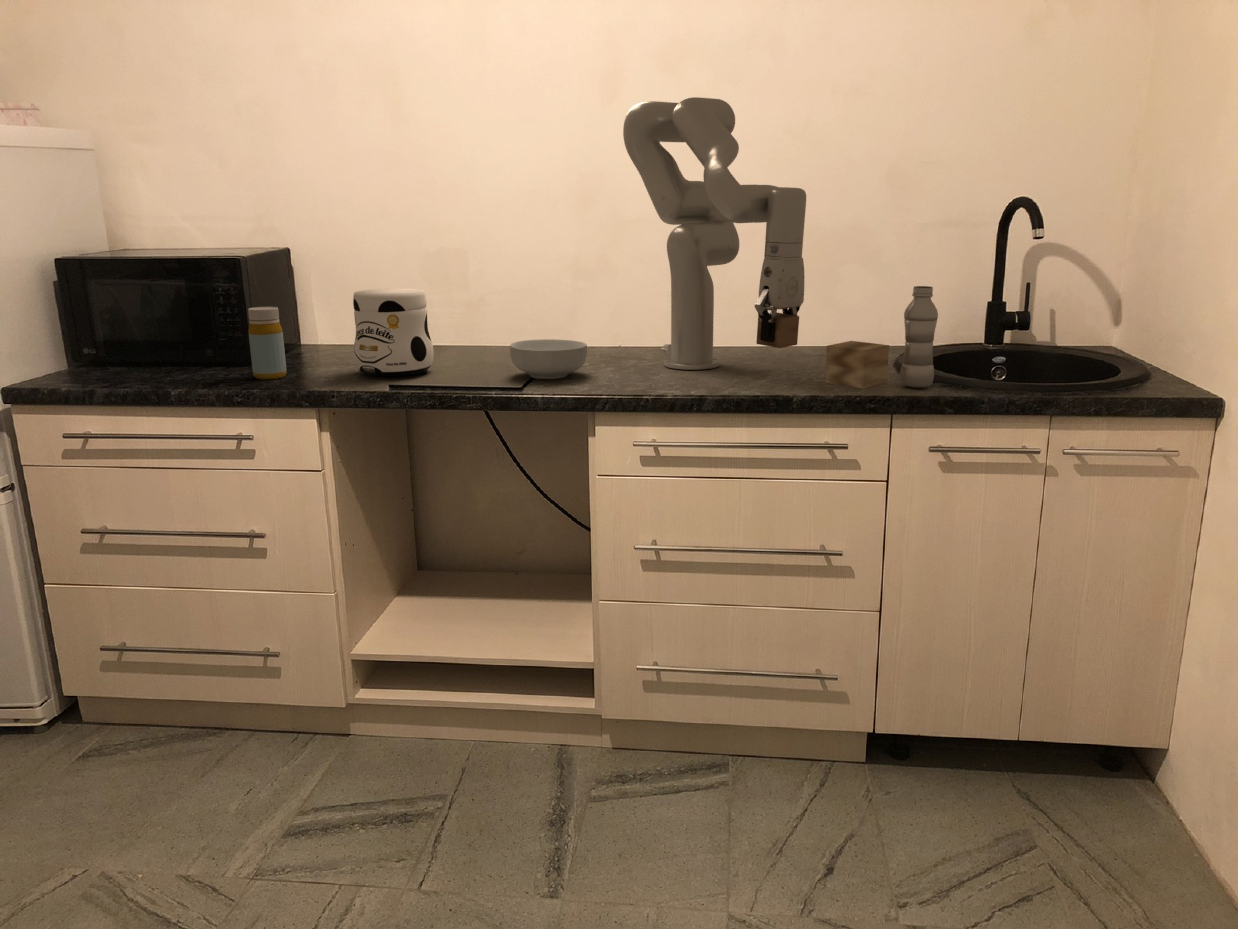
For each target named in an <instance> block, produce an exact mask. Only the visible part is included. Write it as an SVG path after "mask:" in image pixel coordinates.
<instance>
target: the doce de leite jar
mask: <svg viewBox="0 0 1238 929" xmlns="http://www.w3.org/2000/svg"><path fill="white" fill-rule="evenodd" d="M352 296H353V298H352V303H353V304H352V305H353V309H354V313H353V314H354V323H355V324H354V325H355V337H354V338H355V339H354V342H353V343H354V344H353V349H352V350H353V351H352V354H353V360H354V365H355V367H356V369H357V370H359V371H360V372H361V373H363V374H366V375H371V376H378V377H398V376H399V377H400V376H408V375H416V374H419V373H421V372H424V371H427V370H428V369H429V368H431V366H432V365H433V362H434V353H435V352H434V346H433V342H432V338H431V336H430V332H429V325H428V309H427V298H426V293H425V290H424V289H420V288H419V289H418V288H403V287H402V288H398V287H397V288H375V289H366V290H358V291H355V292H353V295H352Z"/></svg>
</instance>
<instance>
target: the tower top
mask: <svg viewBox="0 0 1238 929" xmlns="http://www.w3.org/2000/svg"><path fill="white" fill-rule="evenodd" d="M889 352H890V345H889V344H884V343H873V342H866V341H865V342H863V341H857V340H848V341H843V342H838V343H832V344H829V345H826V355H825V356H826V357H825V358H826V359H825V365H830V366H838V367H845V368H852V369H859V370H867V369H871V368H875V367H879V366H884V365H888V366H889V354H890V353H889Z"/></svg>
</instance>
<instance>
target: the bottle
mask: <svg viewBox="0 0 1238 929" xmlns="http://www.w3.org/2000/svg"><path fill="white" fill-rule="evenodd" d="M247 309H248V310H247V312H248V313H247V314H248V319H249V321H248V322H249V326H248V341H249V349H250V350H249V351H250V357H251V358H250V359H251V367H252V368H251V369H252V375H253V377H254V378H255V379H256V380H257V379H258V380H274V379H276V380H277V379H282V378H284V377H285V376H286V375H287V363H286V362H287V360H286V353H285V351H286V350H285V343H284V342H285V341H284V332H283V328H282V326H281V323H280V314H279V308H278V306H256V307H250V308H247Z"/></svg>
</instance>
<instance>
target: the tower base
mask: <svg viewBox="0 0 1238 929" xmlns="http://www.w3.org/2000/svg"><path fill="white" fill-rule="evenodd" d="M825 365H826V364H825ZM825 367H826V368H825V383H826V384H832V385H838V386H845V387H853V388H859V389H866V388H869V387H874V386H877V385H881V384H885V383H887V382H888V376H889V375H888V374H889V373H888V372H889V364H888V365H884V366H879V367H875V368H871V369H867V370H859V369H852V368H845V367H838V366H830V365H826V366H825Z"/></svg>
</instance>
